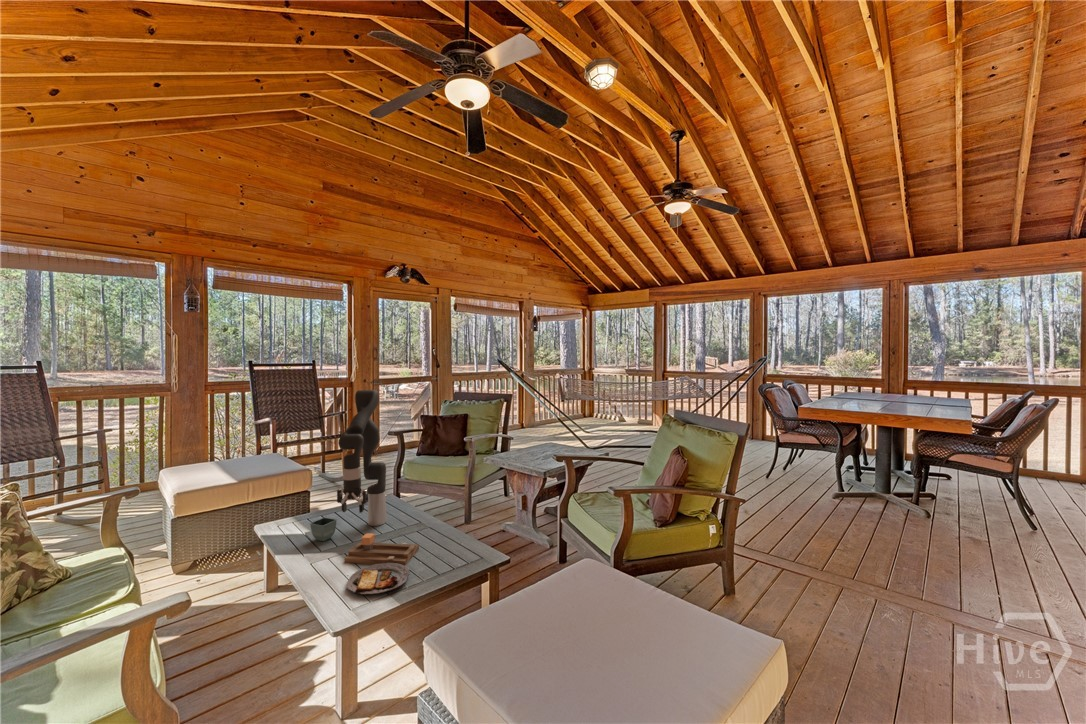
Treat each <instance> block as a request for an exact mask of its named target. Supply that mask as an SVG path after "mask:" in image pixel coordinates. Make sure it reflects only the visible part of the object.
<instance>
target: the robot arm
mask: <svg viewBox="0 0 1086 724" xmlns="http://www.w3.org/2000/svg"><path fill="white" fill-rule="evenodd" d="M354 395H355V396H354V403H355V407H356V411H357V413H356V414H355V415H354V416H353V418H352V419H351V421H350V423H349V426H348V427H347V428H346V429H345V431H343V433H342V434H341V435H340V437H339V439H338V446H339V448H340V449H341V450H343V451H344V450H347V451H348V450H354V451H353V453H349V454H346V455H344V456H343V473H342V475H343V476H342V477H343V478H342V479H343V480H342V481H343V482H342V483H343V488H339V489H337V490H336V502H337V503H338V504H341V512H342V513H346V512H347V510H348V509H347V507H348V505H347V501H348V500H355V502H357V503H358V505H359V506H358V510H359V512H358V513H361V514H362V513H363V512H364V511H365V504H367V524H368V526H370V527H377V526H381V525H384V524H386V522H387V501H386V500H387V499H386V497H387V496H386V482H387V481H386V480H387V479H386V477H387V466H386V463H385V462H383V461H382V462H381V461H380V462H375V461H374V462H373V461H372V455H374V454H373V453H374V452H375V450H376V449H377V447H378V445H379V443H380V430H379V427H378V425H376V423H375V422H374V420H373V419H371V417H372V415H373V414H374V412H375V410H376V409H377V407H378V405H379V403H380V395H379V391H378V390H376V389H360V390H357V391H355V394H354ZM361 454H362V456H363V458H362V459H363V460H362V461H363V465H362V466H363V476H364V479H365V480H368V481H369V480H370V481H375V480H376V481H377V482H376V483H374V484H371V485H369V486H367V489H362V469H361ZM343 494H344V497H343Z"/></svg>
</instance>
